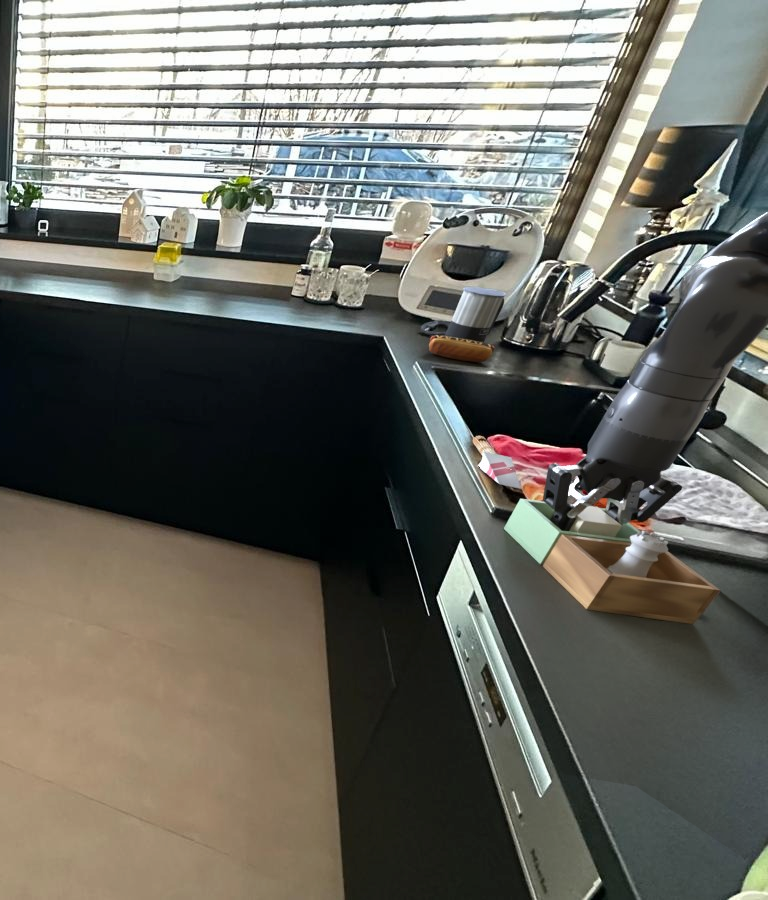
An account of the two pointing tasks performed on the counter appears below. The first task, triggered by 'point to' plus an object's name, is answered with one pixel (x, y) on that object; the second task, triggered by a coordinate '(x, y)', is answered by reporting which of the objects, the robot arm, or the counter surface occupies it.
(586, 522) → the cream block
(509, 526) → the sage bin
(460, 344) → the hot dog
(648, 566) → the rook chess piece
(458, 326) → the milk frother
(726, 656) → the counter surface
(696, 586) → the oak bin
